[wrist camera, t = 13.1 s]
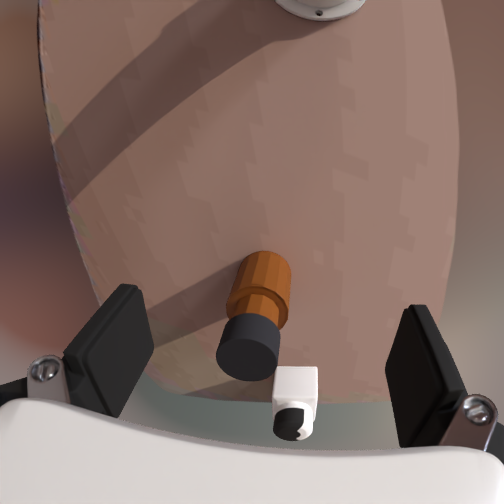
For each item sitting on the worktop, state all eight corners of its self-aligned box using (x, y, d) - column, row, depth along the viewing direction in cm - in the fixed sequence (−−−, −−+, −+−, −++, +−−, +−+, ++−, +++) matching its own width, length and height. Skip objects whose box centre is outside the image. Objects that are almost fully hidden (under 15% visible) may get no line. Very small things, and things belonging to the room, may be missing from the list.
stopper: (229, 291, 35) (213, 335, 29) (283, 295, 35) (279, 341, 28) (231, 333, 38) (217, 378, 31) (281, 337, 37) (275, 384, 30)
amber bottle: (239, 249, 44) (216, 303, 32) (292, 252, 43) (288, 309, 31) (240, 294, 47) (220, 354, 35) (289, 297, 46) (284, 361, 34)
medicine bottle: (276, 391, 55) (269, 444, 44) (275, 365, 52) (268, 421, 41) (314, 391, 54) (314, 445, 43) (317, 365, 51) (317, 422, 40)
